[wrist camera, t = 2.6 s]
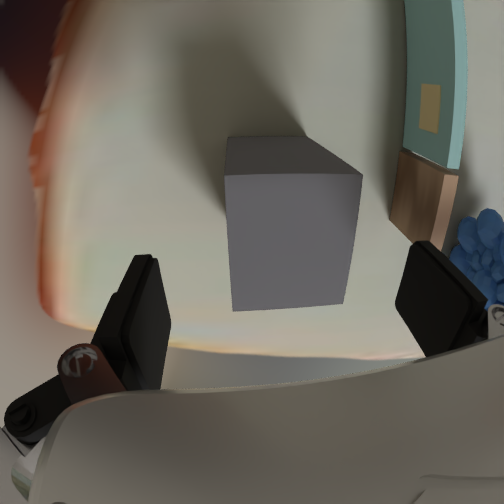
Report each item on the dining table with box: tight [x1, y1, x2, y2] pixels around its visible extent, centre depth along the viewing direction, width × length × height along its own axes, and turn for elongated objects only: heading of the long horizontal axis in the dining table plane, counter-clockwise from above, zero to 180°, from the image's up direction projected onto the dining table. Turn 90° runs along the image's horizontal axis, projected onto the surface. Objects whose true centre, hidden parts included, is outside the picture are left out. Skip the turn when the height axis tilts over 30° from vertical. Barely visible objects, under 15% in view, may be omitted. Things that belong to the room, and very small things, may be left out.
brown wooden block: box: [390, 151, 459, 251], centre depth 13 cm, size 25×1×6 cm, turn 1°
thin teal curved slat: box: [403, 0, 468, 169], centre depth 13 cm, size 13×1×5 cm, turn 1°
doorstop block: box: [224, 136, 363, 311], centre depth 16 cm, size 6×5×9 cm
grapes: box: [449, 208, 504, 311], centre depth 18 cm, size 12×7×12 cm, turn 7°
